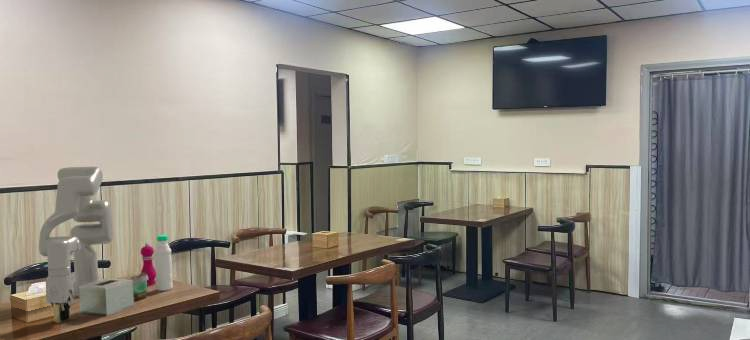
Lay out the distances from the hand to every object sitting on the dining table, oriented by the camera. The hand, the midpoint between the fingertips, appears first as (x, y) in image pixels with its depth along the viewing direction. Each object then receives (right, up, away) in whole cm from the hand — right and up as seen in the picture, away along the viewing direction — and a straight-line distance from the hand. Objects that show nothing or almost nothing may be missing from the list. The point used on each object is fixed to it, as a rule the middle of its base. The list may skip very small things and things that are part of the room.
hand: (62, 319), depth 220 cm
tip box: (+11, 0, +14) cm, 18 cm away
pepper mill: (+11, +2, +56) cm, 57 cm away
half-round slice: (+18, +1, +29) cm, 35 cm away
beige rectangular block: (0, -1, 0) cm, 1 cm away
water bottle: (+23, +2, +45) cm, 50 cm away
